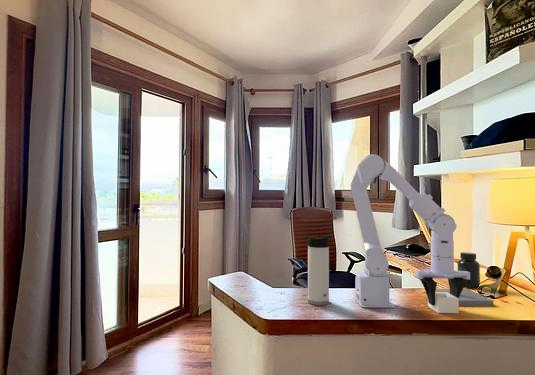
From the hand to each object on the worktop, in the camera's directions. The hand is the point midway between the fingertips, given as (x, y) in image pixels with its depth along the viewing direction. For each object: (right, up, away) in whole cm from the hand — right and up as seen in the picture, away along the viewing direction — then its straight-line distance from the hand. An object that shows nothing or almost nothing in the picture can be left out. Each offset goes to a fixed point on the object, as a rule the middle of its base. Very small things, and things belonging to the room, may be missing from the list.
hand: (442, 304), depth 89 cm
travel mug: (-34, -2, +6) cm, 35 cm away
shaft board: (+10, -2, +10) cm, 14 cm away
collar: (0, -1, 0) cm, 1 cm away
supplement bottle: (+23, -3, +25) cm, 34 cm away
